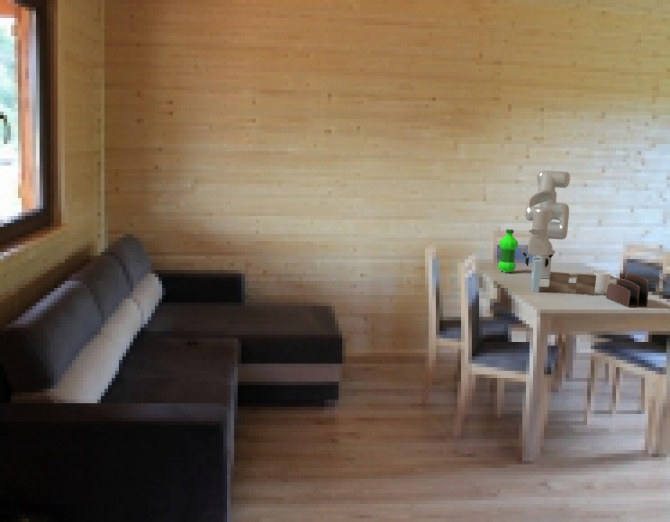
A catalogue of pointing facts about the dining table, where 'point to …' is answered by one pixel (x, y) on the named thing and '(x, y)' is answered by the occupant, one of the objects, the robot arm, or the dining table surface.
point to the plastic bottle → (508, 252)
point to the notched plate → (535, 274)
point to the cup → (601, 281)
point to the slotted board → (582, 285)
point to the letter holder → (629, 291)
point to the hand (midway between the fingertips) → (536, 266)
